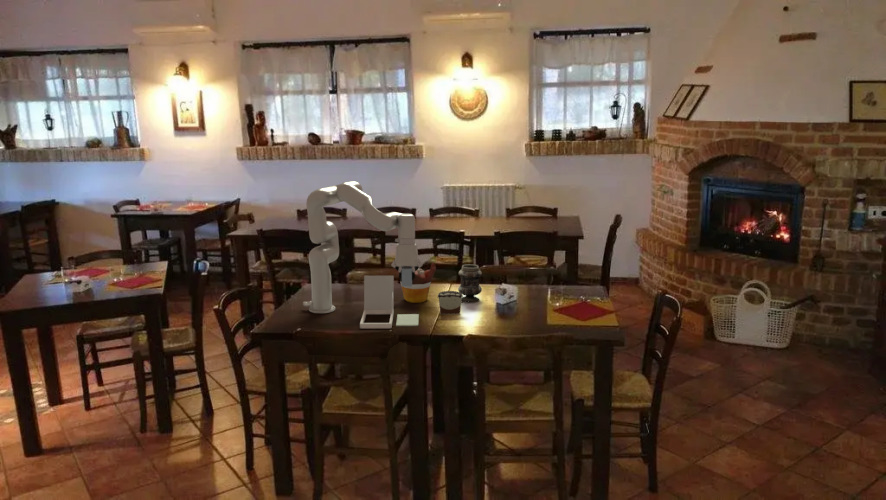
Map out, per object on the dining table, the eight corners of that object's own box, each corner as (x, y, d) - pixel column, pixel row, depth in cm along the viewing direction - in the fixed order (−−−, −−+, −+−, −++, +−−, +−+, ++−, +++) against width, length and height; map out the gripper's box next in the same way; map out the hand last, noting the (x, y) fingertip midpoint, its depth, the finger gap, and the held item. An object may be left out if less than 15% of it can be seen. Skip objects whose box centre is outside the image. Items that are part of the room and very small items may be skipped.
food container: (462, 310, 332) (462, 290, 330) (462, 314, 326) (463, 294, 324) (436, 310, 332) (436, 290, 330) (437, 314, 326) (437, 294, 324)
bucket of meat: (395, 303, 342) (394, 265, 338) (400, 295, 358) (400, 258, 354) (434, 305, 340) (434, 266, 336) (438, 296, 356) (438, 259, 352)
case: (360, 328, 305) (359, 289, 301) (365, 311, 330) (364, 275, 326) (391, 328, 305) (390, 289, 301) (394, 311, 330) (393, 275, 327)
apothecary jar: (482, 297, 355) (482, 263, 352) (481, 303, 344) (481, 269, 340) (458, 296, 357) (459, 262, 353) (457, 302, 345) (457, 268, 341)
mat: (396, 326, 308) (396, 324, 308) (397, 315, 324) (397, 314, 324) (418, 326, 308) (418, 324, 308) (418, 315, 324) (418, 314, 324)
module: (401, 286, 308) (401, 268, 306) (402, 281, 317) (402, 263, 315) (411, 286, 308) (411, 268, 306) (412, 281, 317) (412, 263, 315)
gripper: (387, 242, 304) (388, 282, 308) (425, 242, 305) (425, 282, 309) (388, 239, 312) (389, 278, 315) (425, 239, 312) (425, 278, 316)
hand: (407, 279), depth 312 cm, fingers closed on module, 4 cm apart
